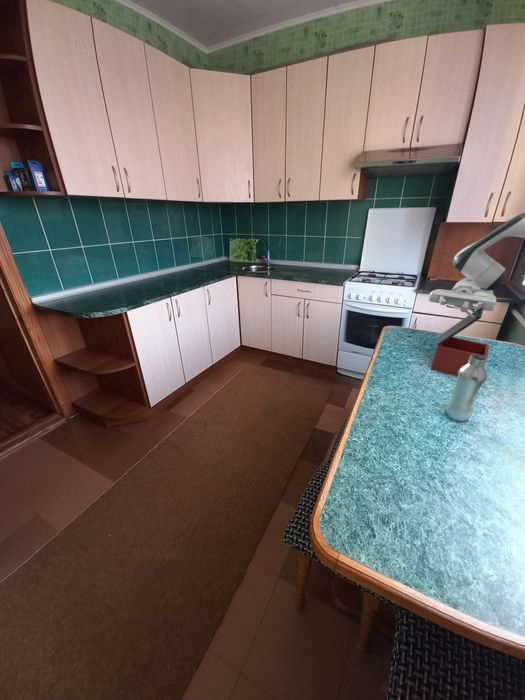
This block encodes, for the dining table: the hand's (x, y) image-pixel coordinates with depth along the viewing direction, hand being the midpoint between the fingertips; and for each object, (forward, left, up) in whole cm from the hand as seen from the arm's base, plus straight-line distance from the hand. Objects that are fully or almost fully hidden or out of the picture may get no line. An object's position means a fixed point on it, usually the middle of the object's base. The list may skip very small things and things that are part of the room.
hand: (458, 305), depth 100 cm
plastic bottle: (-21, +23, -25) cm, 40 cm away
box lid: (-2, -2, -8) cm, 8 cm away
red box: (-4, -3, -24) cm, 25 cm away
